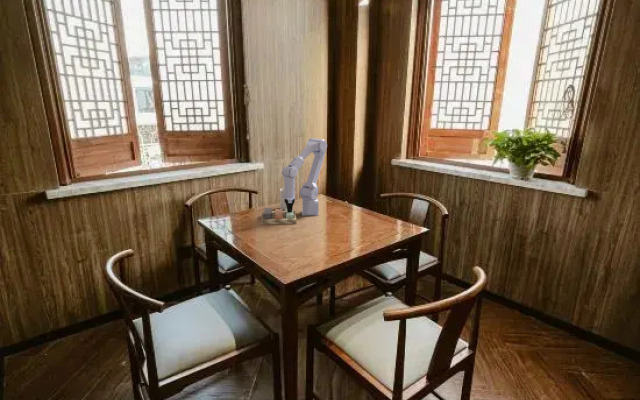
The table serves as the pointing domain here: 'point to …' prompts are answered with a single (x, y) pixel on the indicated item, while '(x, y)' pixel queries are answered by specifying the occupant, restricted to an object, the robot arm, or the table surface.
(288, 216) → the key celadon
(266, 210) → the key charcoal
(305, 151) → the robot arm
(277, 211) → the key terracotta
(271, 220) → the board
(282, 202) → the mug
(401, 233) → the table surface
